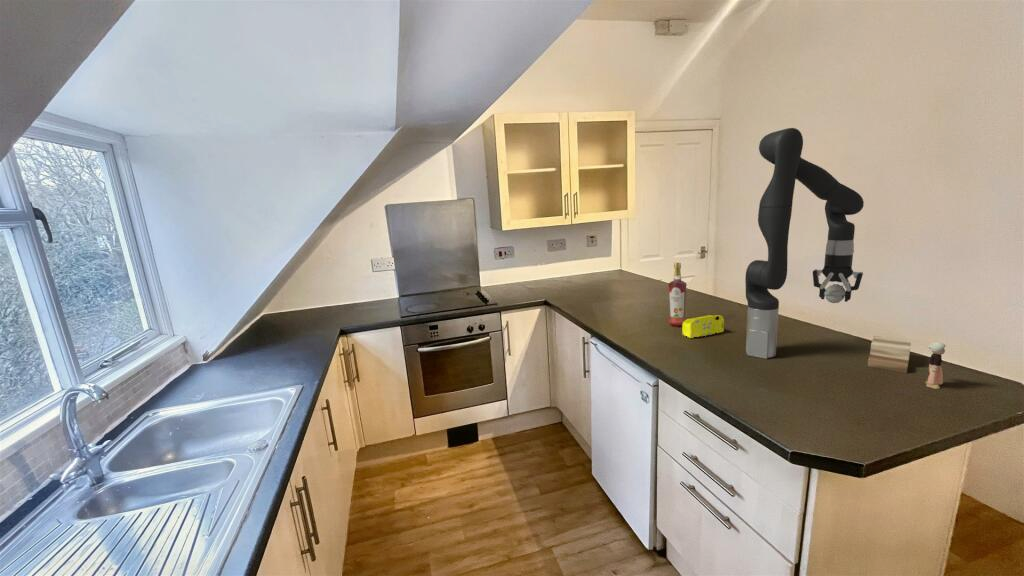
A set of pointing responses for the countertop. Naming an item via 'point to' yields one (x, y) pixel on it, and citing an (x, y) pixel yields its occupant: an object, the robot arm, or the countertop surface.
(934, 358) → the grandmother figurine
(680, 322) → the liquor
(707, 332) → the yellow toy chassis
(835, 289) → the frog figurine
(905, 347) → the plinth
